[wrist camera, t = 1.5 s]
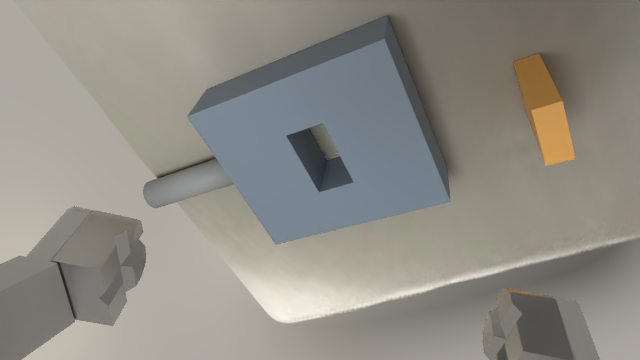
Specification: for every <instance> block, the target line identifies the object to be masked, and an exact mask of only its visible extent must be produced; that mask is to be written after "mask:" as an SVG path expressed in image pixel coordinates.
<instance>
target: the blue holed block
mask: <svg viewBox="0 0 640 360" xmlns="http://www.w3.org/2000/svg"><path fill="white" fill-rule="evenodd" d="M187 117H188V118H189V120H190V121H191V123H192V124H193V126H194V127H195V129H196V130H197V131H198V133H199V134H200V136H201V137H202V139H203V140H204V142H205V143H206V144H207V146H208V147H209V149H210V150H211V152H212V153H213V155H214V156H215V157H216V159H213V160H211V161H208V162H205V163H202V164H199V165H196V166H193V167H190V168H187V169H184V170H181V171H178V172H175V173H173V174H170V175H167V176H164V177H161V178H158V179H155V180H152V181H149V182H147V183H146V184H145V186H144V190H143V194H144V198H145V200H146V202H147V203H148V204H149V205H150V206H151V207H153V208H159V207H162V206H165V205H168V204H171V203H175V202H178V201H181V200H184V199H187V198H191V197H194V196H197V195H200V194H203V193H207V192H210V191H213V190H216V189H219V188H223V187H226V186H229V185H232V184H234V185H235V186H236V188H237V189H238V191H239V192H240V194H241V195H242V196H243V198H244V199H245V201H246V202H247V204H248V205H249V207H250V208H251V209H252V211H253V212H254V214H255V215H256V217H257V218H258V220H259V221H260V222H261V224H262V225H263V227H264V228H265V230H266V231H267V233H268V234H269V235H270V237H271V238H272V240H273V241H274V243H275V244H280V243H284V242H288V241H292V240H296V239H301V238H305V237H309V236H313V235H317V234H321V233H325V232H329V231H333V230H337V229H341V228H345V227H349V226H353V225H357V224H361V223H365V222H369V221H373V220H378V219H382V218H386V217H390V216H394V215H398V214H402V213H406V212H410V211H414V210H418V209H422V208H426V207H430V206H434V205H438V204H442V203H446V202H450V192H449V181H448V170H447V166H446V164H445V161H444V159H443V156H442V153H441V151H440V148H439V146H438V143H437V141H436V138H435V136H434V133H433V130H432V128H431V125H430V123H429V120H428V118H427V115H426V113H425V110H424V107H423V105H422V102H421V100H420V97H419V95H418V92H417V90H416V87H415V84H414V82H413V79H412V77H411V74H410V72H409V69H408V67H407V64H406V61H405V59H404V56H403V54H402V51H401V49H400V46H399V44H398V41H397V39H396V36H395V33H394V31H393V28H392V26H391V23H390V21H389V18H388V16H385V17H382V18H380V19H377V20H375V21H372V22H370V23H368V24H365V25H363V26H360V27H358V28H355V29H353V30H351V31H348V32H346V33H343V34H341V35H338V36H336V37H334V38H331V39H329V40H326V41H324V42H321V43H319V44H317V45H314V46H312V47H309V48H307V49H304V50H302V51H299V52H297V53H295V54H292V55H290V56H287V57H285V58H282V59H280V60H278V61H275V62H273V63H270V64H268V65H265V66H263V67H261V68H258V69H256V70H253V71H251V72H248V73H246V74H244V75H241V76H239V77H236V78H234V79H231V80H229V81H227V82H224V83H222V84H219V85H217V86H214V87H212V88H210V89H207V90H206V91H205V93H204V94H203V95H202V97H201V98H200V100H199V101H198V102H197V104H196V105H195V106H194V108H193V109H192V111H191V112H190V113H189V115H188V116H187ZM322 123H323V125H324V127H325V129H326V130H327V132H328V134H329V136H330V138H331V140H332V142H333V144H334V146H335V147H336V149H337V151H338V153H339V155H340V157H338V158H335V159H332V160H328V161H326V159H325V157H324V155H323V154H322V152H321V150H320V148H319V146H318V144H317V143H316V141H315V139H314V137H313V135H312V133H311V132H310V130H309V128H310V127H313V126H316V125H319V124H322Z"/></svg>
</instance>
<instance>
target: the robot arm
mask: <svg viewBox="0 0 640 360" xmlns="http://www.w3.org/2000/svg"><path fill="white" fill-rule="evenodd" d="M142 233H143V228H142V224H141V221H139V220H137V219H133V218H129V217H124V216H119V215H114V214H110V213H105V212H100V211H94V210H89V209H84V208H80V207H75V206H74V207H72V208H70V209H68V210H66V212H65V213H64V214H63V215H62V216H61V217H60V219H59V220H58V221H57V222H56V223H55V224H54V226H53V227H52V228H51V229H50V230H49V231H48V232H47V233H46V235H45V236H44V237H43V238H42V239H41V240H40V242H39V243H38V244H37V245H36V246H35V247H34V249H32V251H31V252H30V253H29V254H28V255H27V256H26V257H24V256H18V257H16V258H13V259H11V260H9V261H7V262H4V263H2V264H0V360H21V359H23V358H24V357H26V356H27V355H28V354H30V353H31V352H33V351H34V350H36V349H37V348H38V347H40V346H41V345H43V344H44V343H45V342H47V341H48V340H50V339H51V338H52V337H54V336H55V335H57V334H58V333H60V332H61V331H63V330H64V329H65V328H67V327H68V326H70V325H71V324H72V323H74V322H75V320H81V321H87V322H93V323H99V324H105V325H111V326H113V325H114V323H115V321H116V320H117V318H118V316H119V315H120V313H121V311H122V309H123V308H124V306H125V304H126V302H127V299H126V293H125V292H126V291H128V290H130V289H132V288H133V287H135V286H136V285H137V283H138V281H139V280H140V278H141V276H142V273H143V270H144V267H145V263H146V249H145V245H144V244H143V243H142V242H141V241H140V240H139V238H140V236H141V235H142ZM497 304H498V308H496V309H494V310H492V311H490V312H489V314H488V317H487V318H486V320H485V324H484V329H483V349H484V354H485V355H486V356H487V357H488V359H489V360H600V359H599V356H598V353H597V351H596V348H595V345H594V342H593V340H592V337H591V335H590V332H589V329H588V326H587V324H586V321H585V318H584V316H583V313H582V310H581V307H580V305H579V304H578V302H577V301H575V300H571V299H565V298H560V297H554V296H548V295H543V294H538V293H532V292H526V291H521V290H515V289H509V288H504V289H503V290H501V291H500V293H499V295H498V297H497Z"/></svg>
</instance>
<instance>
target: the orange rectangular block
mask: <svg viewBox="0 0 640 360" xmlns="http://www.w3.org/2000/svg"><path fill="white" fill-rule="evenodd" d="M513 64H514V67H515V71H516V75H517V79H518V83H519V86H520V90H521V94H522V98H523V101H524V105H525V109H526V113H527V115H528V118H529V121H530V124H531V126H532V129H533V132H534V135H535V137H536V140H537V143H538V146H539V148H540V151H541V154H542V157H543V160H544V162H545V165H546V166H548V165H552V164H556V163H560V162H564V161H568V160H572V159H575V155H574V150H573V146H572V141H571V136H570V132H569V127H568V123H567V118H566V113H565V109H564V104H563V100H562V98H561V96H560V94H559V92H558V90H557V88H556V86H555V84H554V82H553V80H552V78H551V76H550V74H549V72H548V70H547V68H546V66H545V64H544V62H543V60H542V58H541V56H540V54H539V53H538V54H535V55H532V56H529V57H526V58H523V59H520V60H517V61H514V62H513Z"/></svg>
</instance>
